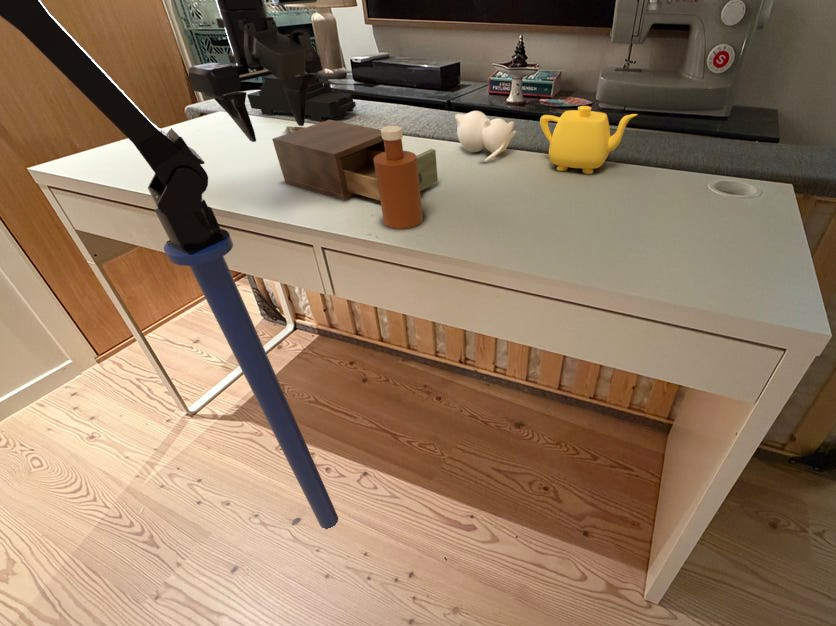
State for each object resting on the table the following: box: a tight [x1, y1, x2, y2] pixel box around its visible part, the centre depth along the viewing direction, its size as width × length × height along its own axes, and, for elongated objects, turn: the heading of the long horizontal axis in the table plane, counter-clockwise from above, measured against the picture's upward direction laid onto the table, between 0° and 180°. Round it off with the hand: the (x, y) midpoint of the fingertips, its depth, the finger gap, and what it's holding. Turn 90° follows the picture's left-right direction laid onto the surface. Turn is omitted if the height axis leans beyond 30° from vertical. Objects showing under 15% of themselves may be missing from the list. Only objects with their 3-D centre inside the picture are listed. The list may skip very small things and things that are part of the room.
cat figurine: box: [454, 110, 517, 164], centre depth 96 cm, size 9×11×12 cm
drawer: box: [340, 148, 439, 201], centre depth 82 cm, size 18×14×6 cm
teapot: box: [539, 105, 638, 175], centre depth 89 cm, size 18×11×11 cm, turn 71°
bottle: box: [374, 125, 424, 230], centre depth 71 cm, size 6×6×14 cm
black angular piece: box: [246, 74, 357, 122], centre depth 121 cm, size 12×29×10 cm, turn 67°
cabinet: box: [271, 119, 385, 201], centre depth 86 cm, size 16×14×8 cm
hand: (278, 133), depth 72 cm, fingers open, 9 cm apart
